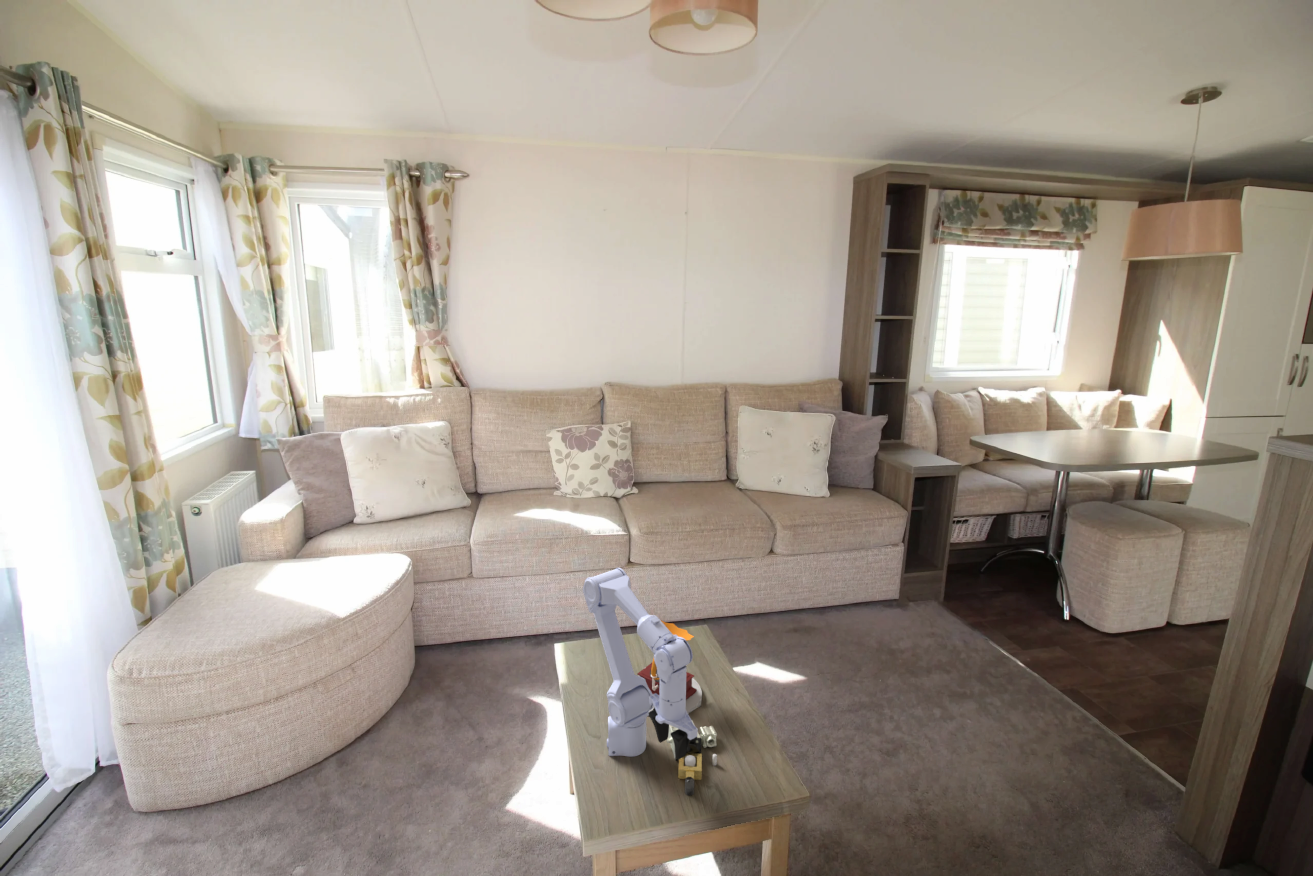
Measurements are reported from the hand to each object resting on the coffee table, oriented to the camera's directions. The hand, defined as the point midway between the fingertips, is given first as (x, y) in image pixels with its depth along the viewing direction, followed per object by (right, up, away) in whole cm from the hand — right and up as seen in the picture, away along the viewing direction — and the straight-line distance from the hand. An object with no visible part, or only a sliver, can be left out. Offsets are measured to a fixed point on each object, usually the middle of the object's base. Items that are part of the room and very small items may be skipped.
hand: (671, 748), depth 132 cm
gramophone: (-1, -3, +33) cm, 33 cm away
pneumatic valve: (+11, -4, +14) cm, 19 cm away
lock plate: (+4, -9, +6) cm, 11 cm away
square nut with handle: (+4, -8, +3) cm, 10 cm away
